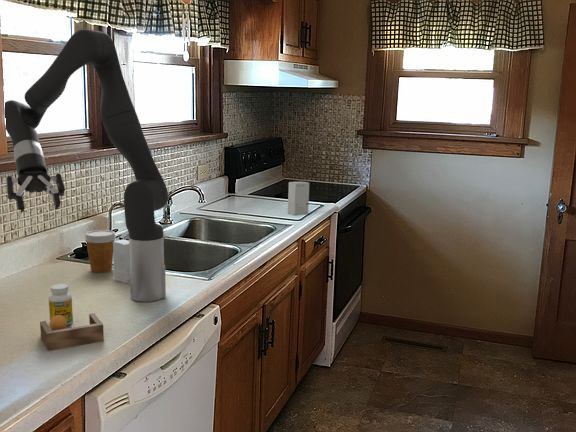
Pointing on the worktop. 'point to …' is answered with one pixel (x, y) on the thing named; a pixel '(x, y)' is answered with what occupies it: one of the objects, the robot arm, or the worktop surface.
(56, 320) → the ball
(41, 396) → the worktop surface
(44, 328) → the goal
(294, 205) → the skincare box
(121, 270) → the skincare box
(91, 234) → the disposable coffee cup
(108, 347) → the worktop surface
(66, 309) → the supplement bottle
